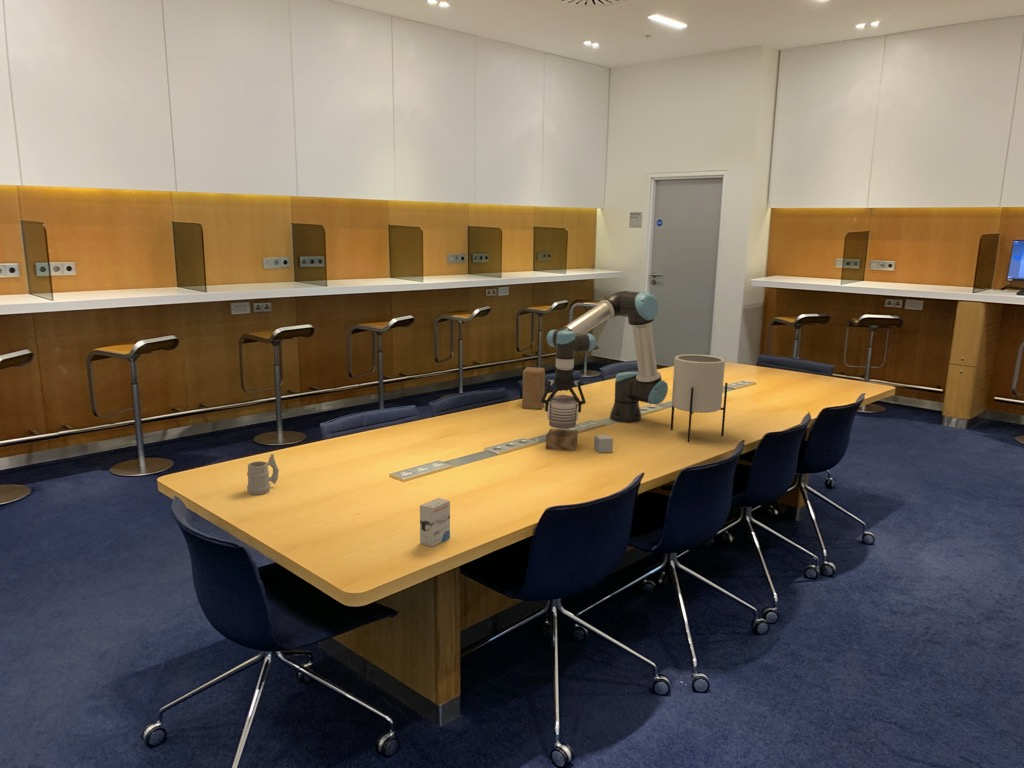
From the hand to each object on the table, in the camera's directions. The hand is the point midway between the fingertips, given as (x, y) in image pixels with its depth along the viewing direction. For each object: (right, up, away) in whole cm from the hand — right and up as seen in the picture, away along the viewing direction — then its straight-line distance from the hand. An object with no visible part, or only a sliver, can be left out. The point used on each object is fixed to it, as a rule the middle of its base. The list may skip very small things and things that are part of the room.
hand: (562, 419), depth 321 cm
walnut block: (0, -12, +2) cm, 12 cm away
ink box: (-44, -31, -97) cm, 111 cm away
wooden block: (-10, +3, +71) cm, 72 cm away
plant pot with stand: (+60, -9, +22) cm, 65 cm away
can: (0, -3, +1) cm, 3 cm away
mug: (-107, -22, -58) cm, 123 cm away
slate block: (+17, -13, -3) cm, 21 cm away
